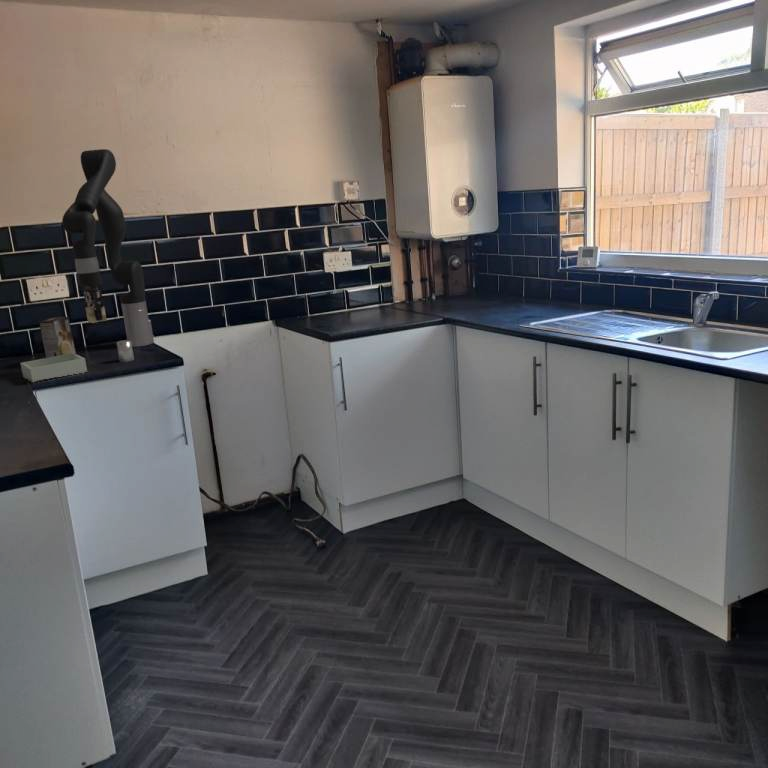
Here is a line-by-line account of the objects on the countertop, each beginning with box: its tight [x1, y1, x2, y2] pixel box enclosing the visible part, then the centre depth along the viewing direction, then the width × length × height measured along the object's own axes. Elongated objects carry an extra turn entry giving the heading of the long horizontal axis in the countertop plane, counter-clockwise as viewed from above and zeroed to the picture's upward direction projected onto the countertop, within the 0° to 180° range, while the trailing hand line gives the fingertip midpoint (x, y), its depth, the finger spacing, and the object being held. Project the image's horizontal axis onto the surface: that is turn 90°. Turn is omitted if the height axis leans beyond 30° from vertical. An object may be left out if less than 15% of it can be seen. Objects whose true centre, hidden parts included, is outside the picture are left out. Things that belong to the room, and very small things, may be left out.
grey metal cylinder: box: [116, 339, 135, 363], centre depth 263 cm, size 5×5×7 cm
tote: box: [20, 353, 88, 384], centre depth 249 cm, size 18×14×5 cm
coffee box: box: [38, 316, 77, 358], centre depth 268 cm, size 9×6×16 cm
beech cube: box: [84, 305, 108, 324], centre depth 255 cm, size 5×5×5 cm
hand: (96, 319), depth 255 cm, fingers closed on beech cube, 5 cm apart
